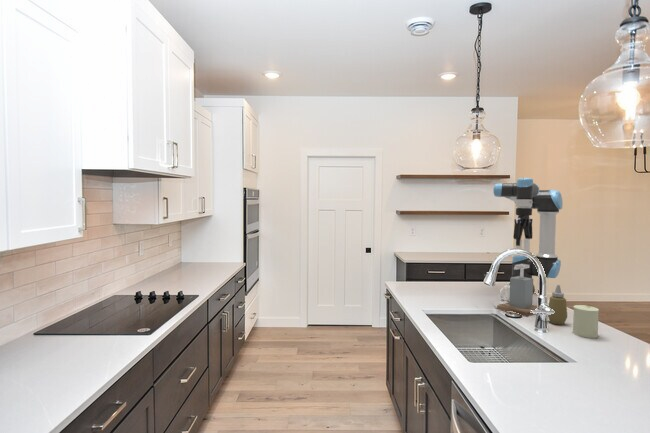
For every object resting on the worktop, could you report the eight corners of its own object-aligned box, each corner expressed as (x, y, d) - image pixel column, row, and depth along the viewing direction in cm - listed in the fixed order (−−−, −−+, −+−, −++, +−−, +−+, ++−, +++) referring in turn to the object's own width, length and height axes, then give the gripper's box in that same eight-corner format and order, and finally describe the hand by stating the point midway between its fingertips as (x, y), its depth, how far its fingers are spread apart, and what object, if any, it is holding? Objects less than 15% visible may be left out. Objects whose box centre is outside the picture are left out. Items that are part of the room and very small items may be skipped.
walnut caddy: (515, 304, 213) (515, 300, 213) (544, 311, 200) (545, 307, 199) (496, 309, 202) (496, 305, 202) (527, 316, 189) (527, 312, 189)
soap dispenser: (517, 303, 206) (518, 276, 206) (532, 307, 200) (533, 278, 199) (509, 305, 202) (510, 277, 201) (524, 309, 195) (525, 280, 195)
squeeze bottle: (555, 319, 185) (557, 283, 184) (571, 325, 177) (572, 286, 176) (543, 321, 182) (544, 283, 182) (558, 326, 175) (559, 287, 174)
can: (600, 334, 164) (601, 307, 164) (594, 339, 158) (595, 311, 158) (576, 329, 171) (577, 302, 171) (569, 333, 165) (570, 306, 165)
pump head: (521, 281, 204) (521, 263, 204) (528, 282, 201) (529, 264, 200) (510, 283, 198) (511, 265, 198) (518, 285, 195) (518, 266, 194)
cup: (519, 301, 218) (520, 287, 218) (503, 302, 217) (503, 288, 217) (512, 298, 225) (512, 285, 225) (496, 298, 224) (496, 285, 224)
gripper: (521, 207, 190) (519, 253, 191) (541, 207, 202) (539, 251, 202) (506, 207, 196) (505, 251, 197) (526, 207, 208) (525, 249, 209)
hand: (522, 251), depth 200 cm, fingers open, 7 cm apart
